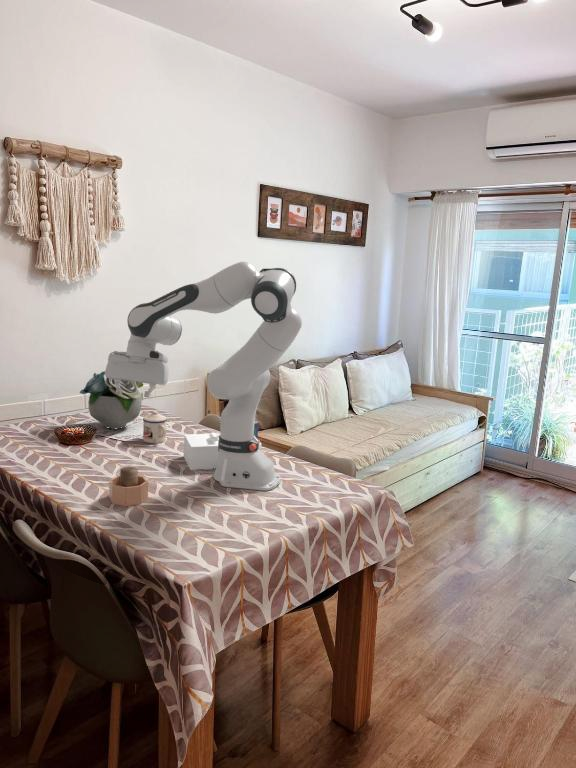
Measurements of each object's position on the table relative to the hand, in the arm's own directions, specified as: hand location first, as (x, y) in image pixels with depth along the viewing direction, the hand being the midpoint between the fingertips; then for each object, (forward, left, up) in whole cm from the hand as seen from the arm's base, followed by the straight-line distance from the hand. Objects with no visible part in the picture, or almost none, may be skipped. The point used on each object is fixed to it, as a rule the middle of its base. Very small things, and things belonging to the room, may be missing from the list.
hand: (132, 395), depth 189 cm
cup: (-10, +18, -27) cm, 34 cm away
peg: (-10, +18, -26) cm, 33 cm away
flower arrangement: (+34, -44, -27) cm, 62 cm away
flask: (-24, -48, -27) cm, 60 cm away
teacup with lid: (+10, -35, -27) cm, 45 cm away
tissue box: (-22, -25, -27) cm, 43 cm away
